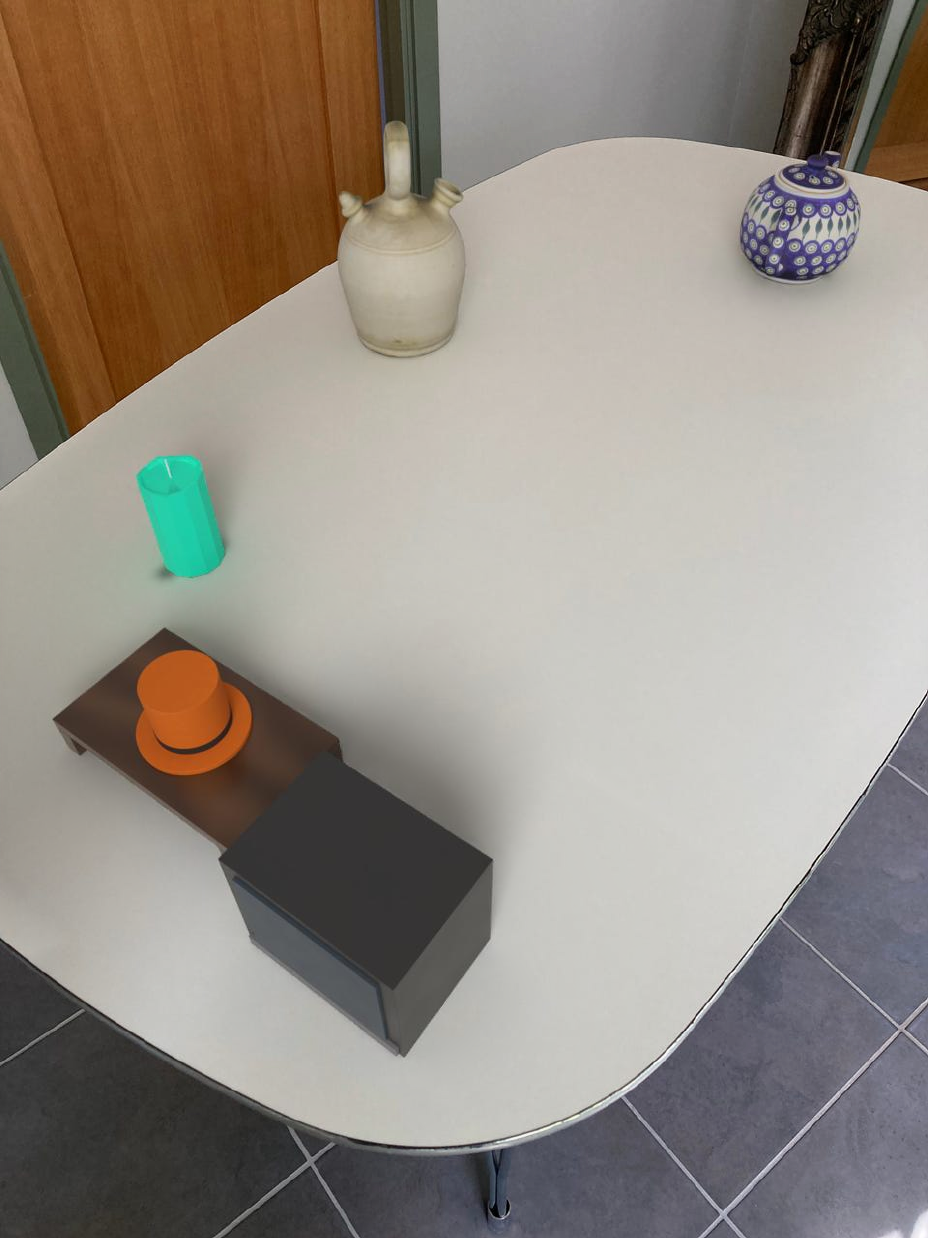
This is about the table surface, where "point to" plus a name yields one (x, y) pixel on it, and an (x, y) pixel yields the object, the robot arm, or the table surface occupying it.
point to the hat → (189, 714)
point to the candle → (181, 514)
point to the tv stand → (213, 797)
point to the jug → (402, 259)
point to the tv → (362, 899)
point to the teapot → (801, 221)
